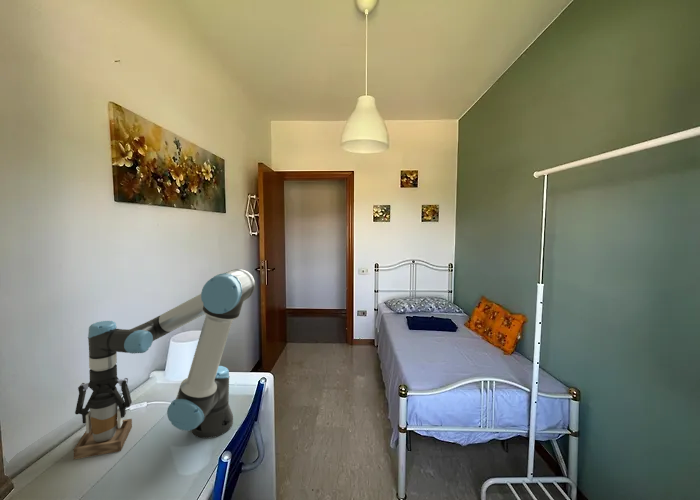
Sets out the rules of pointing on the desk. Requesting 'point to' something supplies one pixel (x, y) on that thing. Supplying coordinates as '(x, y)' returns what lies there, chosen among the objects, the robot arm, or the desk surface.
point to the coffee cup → (103, 416)
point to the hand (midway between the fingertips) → (104, 428)
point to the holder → (93, 448)
